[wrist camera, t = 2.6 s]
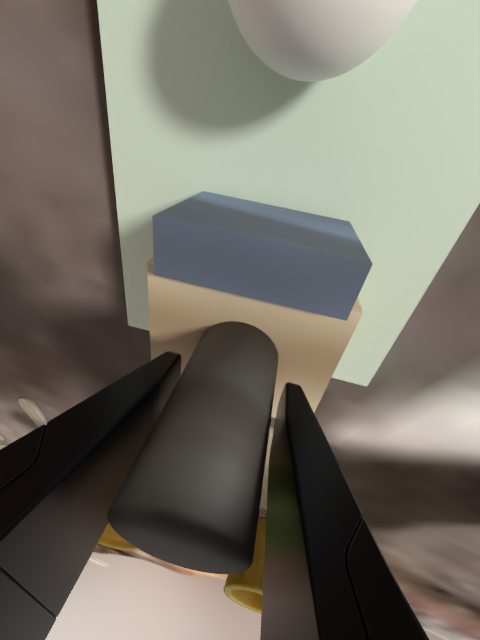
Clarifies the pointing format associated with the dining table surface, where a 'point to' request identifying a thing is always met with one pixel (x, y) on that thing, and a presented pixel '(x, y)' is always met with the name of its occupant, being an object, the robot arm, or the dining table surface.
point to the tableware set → (238, 585)
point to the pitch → (299, 143)
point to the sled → (232, 365)
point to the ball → (317, 33)
